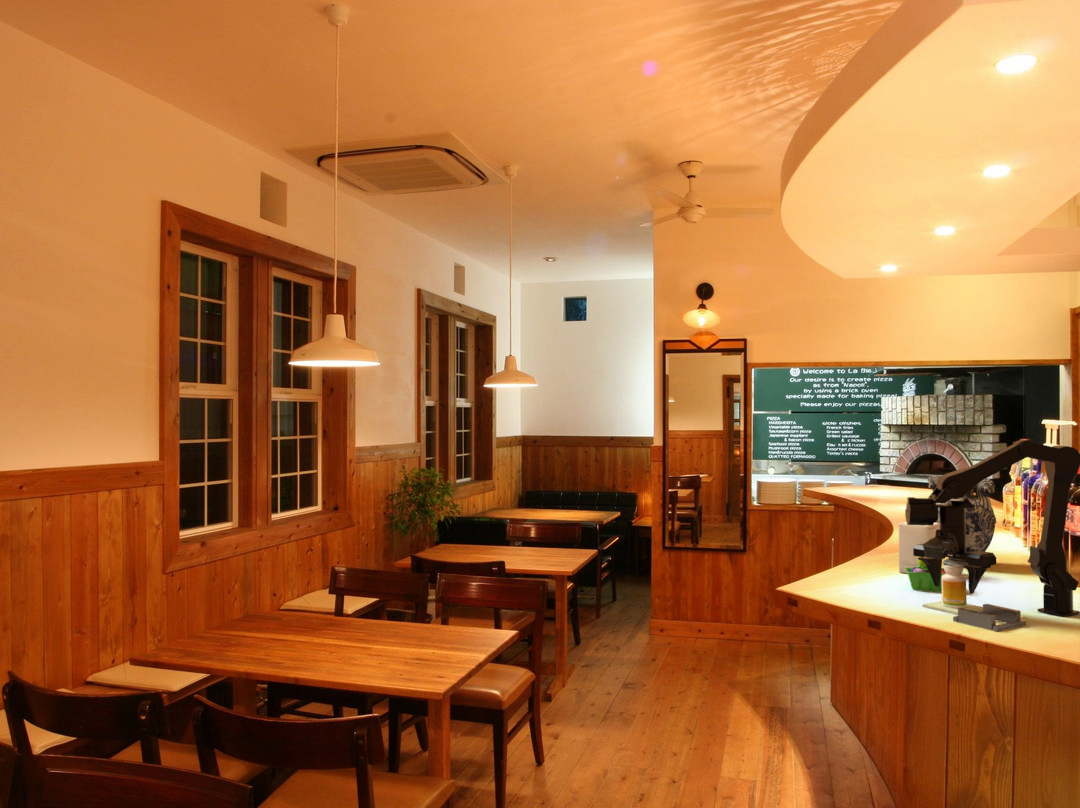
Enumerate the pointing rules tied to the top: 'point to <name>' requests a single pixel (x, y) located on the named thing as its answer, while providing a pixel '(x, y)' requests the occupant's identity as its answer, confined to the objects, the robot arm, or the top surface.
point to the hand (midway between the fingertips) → (953, 590)
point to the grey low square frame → (991, 618)
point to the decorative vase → (974, 518)
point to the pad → (950, 610)
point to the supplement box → (913, 542)
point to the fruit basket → (923, 578)
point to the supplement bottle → (954, 587)
